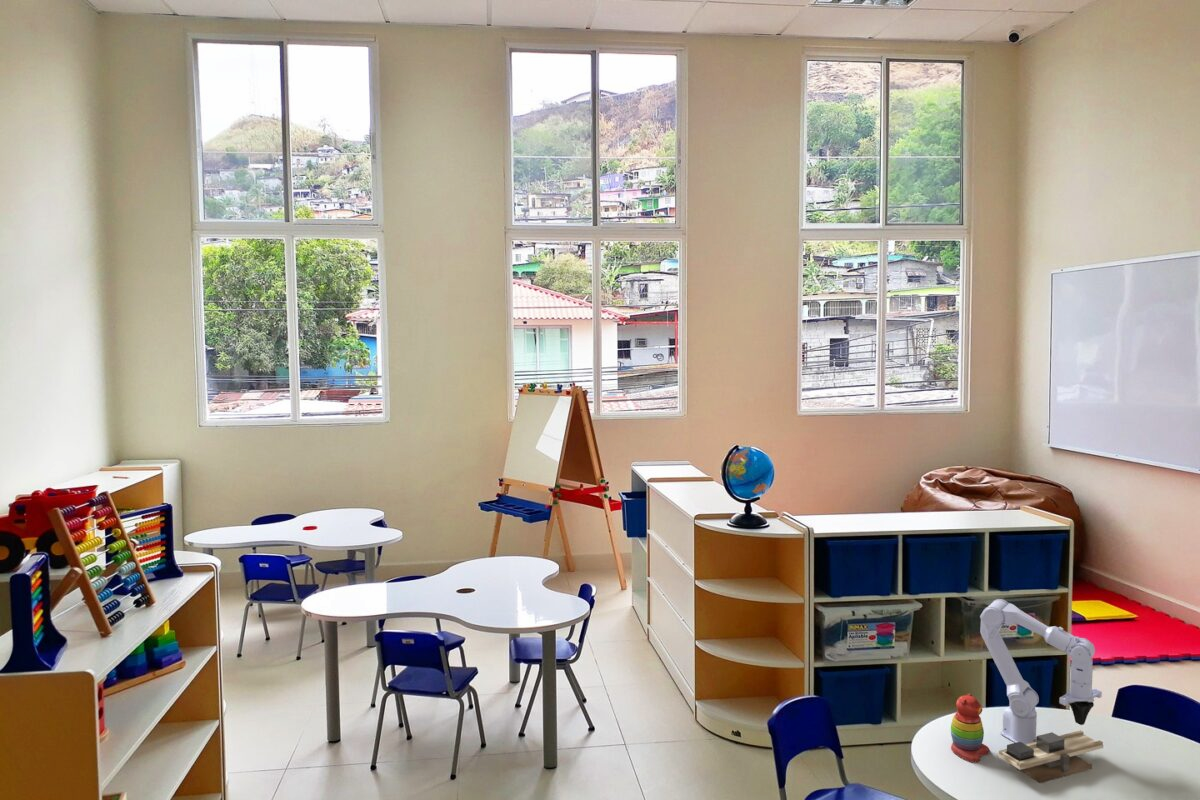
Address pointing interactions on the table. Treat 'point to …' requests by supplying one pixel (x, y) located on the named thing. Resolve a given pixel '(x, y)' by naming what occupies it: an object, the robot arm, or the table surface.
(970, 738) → the stacking bear
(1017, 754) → the block
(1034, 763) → the balance beam
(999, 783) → the table surface
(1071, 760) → the beam stand
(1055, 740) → the block
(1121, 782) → the table surface
